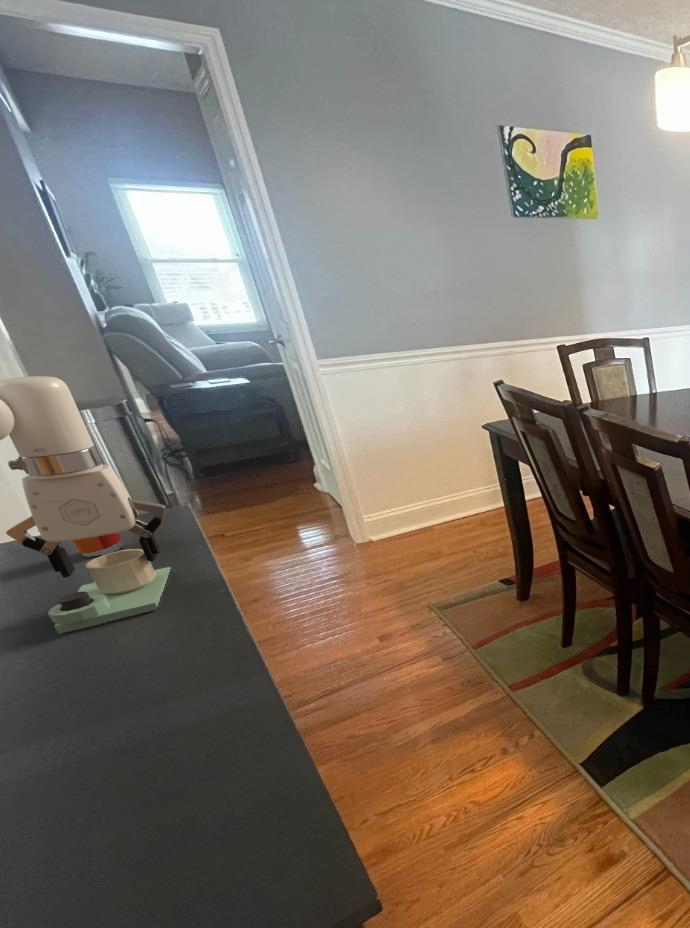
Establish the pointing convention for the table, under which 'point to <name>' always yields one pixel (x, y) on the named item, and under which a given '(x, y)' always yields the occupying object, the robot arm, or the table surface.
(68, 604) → the button
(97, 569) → the bowl
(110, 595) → the scale
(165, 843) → the table surface
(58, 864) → the table surface
